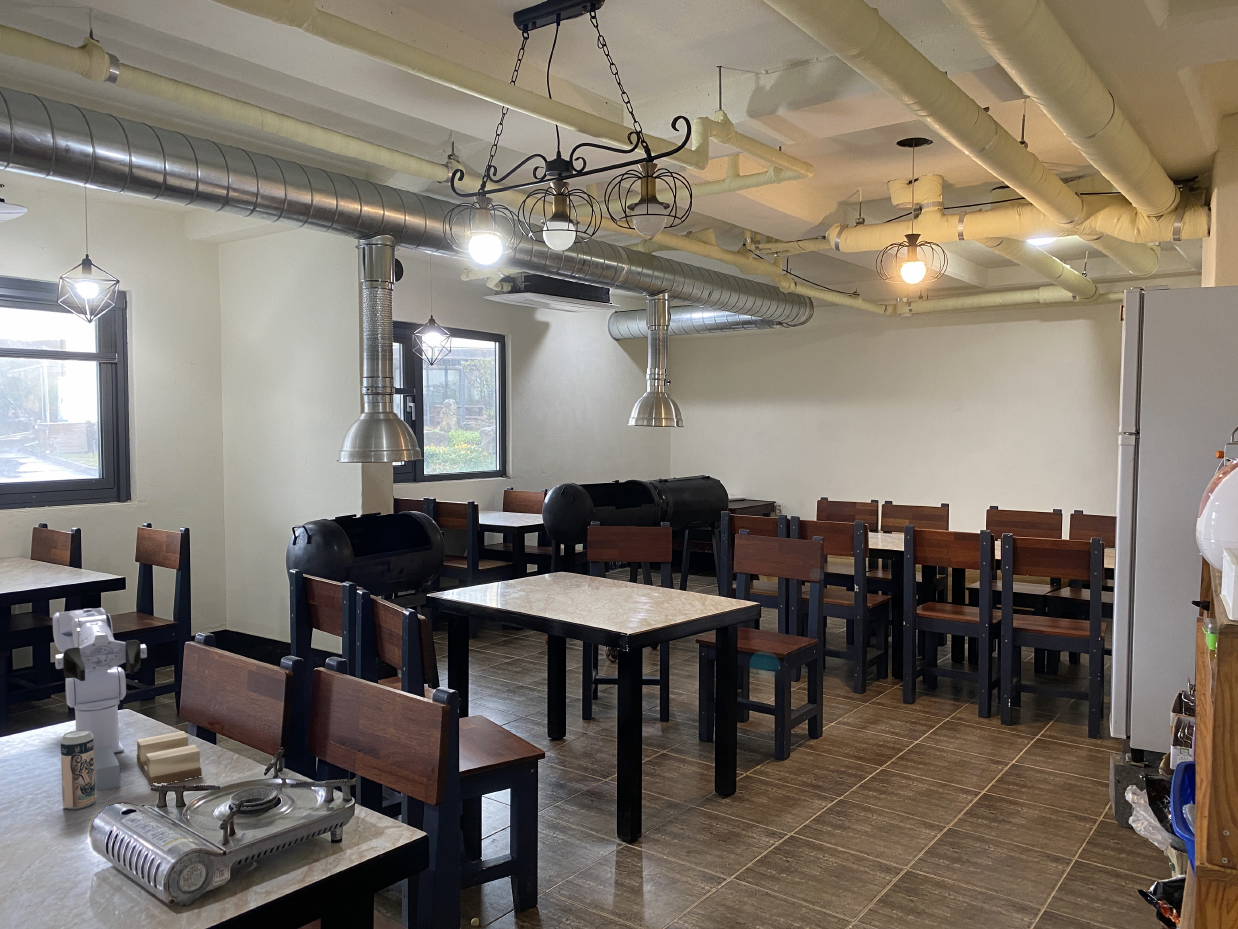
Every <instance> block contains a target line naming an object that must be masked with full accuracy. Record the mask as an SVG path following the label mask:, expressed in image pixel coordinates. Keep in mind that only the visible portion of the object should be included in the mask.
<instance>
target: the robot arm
mask: <svg viewBox="0 0 1238 929" xmlns="http://www.w3.org/2000/svg"><path fill="white" fill-rule="evenodd" d="M113 628H114V627H113V621H112V618H111V616H110V614H109V613H106V611H105V609H104V608H103V607H98V608H83V609H76V610H70V611H63V612H62V611H61V612H54V615H53V616H52V634H53V640H54V644H55V647H56V648H57V650H58V651H59V652H62V653H61V654H60V653H59V654H55V656H54V657H55V662H54V663H55V664H54V665H55V669H57V670H60V669H63V676H64V678H65V698H66V699H65V700H66V704H67V706H68V707H69V708H71V709H72V708H74V713H75V717H74V718H75V731H76V730H90V731H91V733H92V734H93V736H94V748H98V747H103V746H109V745H110V746H111V748H112V750H113V753H114V754H115V753H121V752H124V751H125V748H124V746H123V744H122V743H121V741H120V737H119V736H120V735H119V734H120V733H119V710H118V709H119V708H118V706H119V705H120V701H121V700H124V698H125V696H126V693H127V680H126V673H125V671H128V674H129V675H135V671H136V670H138V669H139V670H140V668H141V663H142V662H141V660H142V659H145V658H147V657H148V654H147V653H148V652H147V651H148V648H147V645H146V644H145V643H143V644H141V642H140V641H139V640H138V639H133V640H126V641H120V640H115V638H114V631H113ZM124 663H125V669H123V668H122V667H120V665H122V664H124Z"/></svg>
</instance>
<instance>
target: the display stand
mask: <svg viewBox="0 0 1238 929" xmlns="http://www.w3.org/2000/svg"><path fill="white" fill-rule="evenodd" d="M136 744H137V745H136V746H137V751H136V752H137V754H136V763H137V765H138V766H139V768H140V770H141V772H142V773H143V775H144V777H145V779H146V780H147V782H148V783H149V785H150V786H151V784H153V783H157V784H161V783H171V782H172V783H171V784H175V783H174V782H175V781H179V782H178V783H181V782H185V781H186V780H185V779H189V778H195V777H199V776H202V777H203V775H202V774H203V773H202V768H201V751H200V749H199V748H198V747H197V745H196V744H192V745H189V736H188V735H187V733H186V732H185V730H184V731H183V730H182V731H178V732H172V733H171V732H170V733H167V734H161V735H156V736H151V737H150V736H149V737H145V738H140V739H136ZM199 778H200V777H199ZM195 779H196V778H195ZM184 780H185V781H184Z"/></svg>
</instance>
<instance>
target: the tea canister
mask: <svg viewBox="0 0 1238 929" xmlns="http://www.w3.org/2000/svg"><path fill="white" fill-rule="evenodd" d="M59 743H60V761H61V764H60V765H61V767H60V768H61V787H62V788H61V789H62V790H61V792H62V807H63V808H65V809H68V810H71V811H72V810H73V811H74V810H75V811H76V810H82V809H84V808H87V807H90V806H91V805H92V804H94V803H95V802H96V800H97V795H96V786H95V763H94V736H93V734H92V733H91V731H90V730H76V729H75V730H73V731H72V730H71V731H68V732H66V733H64V734H63V736H62V739H61V740H60V742H59Z"/></svg>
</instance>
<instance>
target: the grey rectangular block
mask: <svg viewBox="0 0 1238 929" xmlns="http://www.w3.org/2000/svg"><path fill="white" fill-rule="evenodd" d="M94 763H95V790H97V792H98V791H104V790H109V789H113V788H117V787H121V775H120V774H121V773H120V772H121V770H120V763H119V761H118V758H117V757H116V755H115V753H113V750H112V748H111V746H110V745H109V746H103V747H98V748H94Z"/></svg>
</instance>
